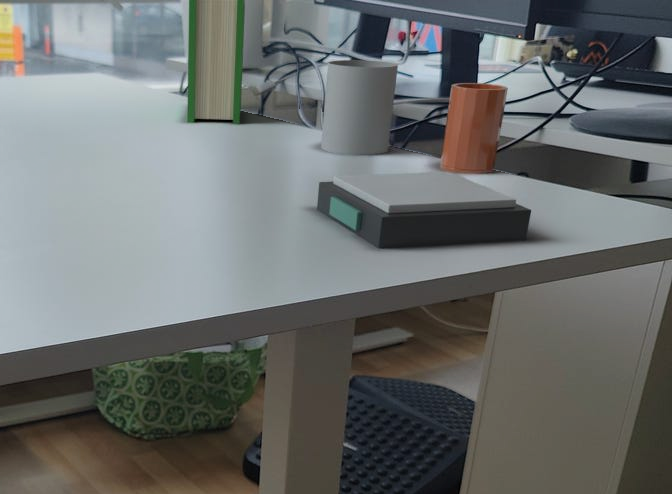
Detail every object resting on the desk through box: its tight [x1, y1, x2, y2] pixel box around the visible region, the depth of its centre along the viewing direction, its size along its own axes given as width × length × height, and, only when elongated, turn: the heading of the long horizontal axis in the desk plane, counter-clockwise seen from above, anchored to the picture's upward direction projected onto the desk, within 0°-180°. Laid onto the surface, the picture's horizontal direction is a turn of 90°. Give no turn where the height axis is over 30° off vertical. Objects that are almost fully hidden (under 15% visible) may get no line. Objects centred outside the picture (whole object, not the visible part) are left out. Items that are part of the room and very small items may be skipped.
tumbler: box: [439, 82, 509, 175], centre depth 108 cm, size 6×6×9 cm
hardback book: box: [186, 0, 246, 125], centre depth 138 cm, size 18×7×24 cm, turn 177°
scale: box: [316, 171, 532, 249], centre depth 86 cm, size 14×14×4 cm
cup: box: [320, 59, 399, 156], centre depth 118 cm, size 8×8×10 cm
